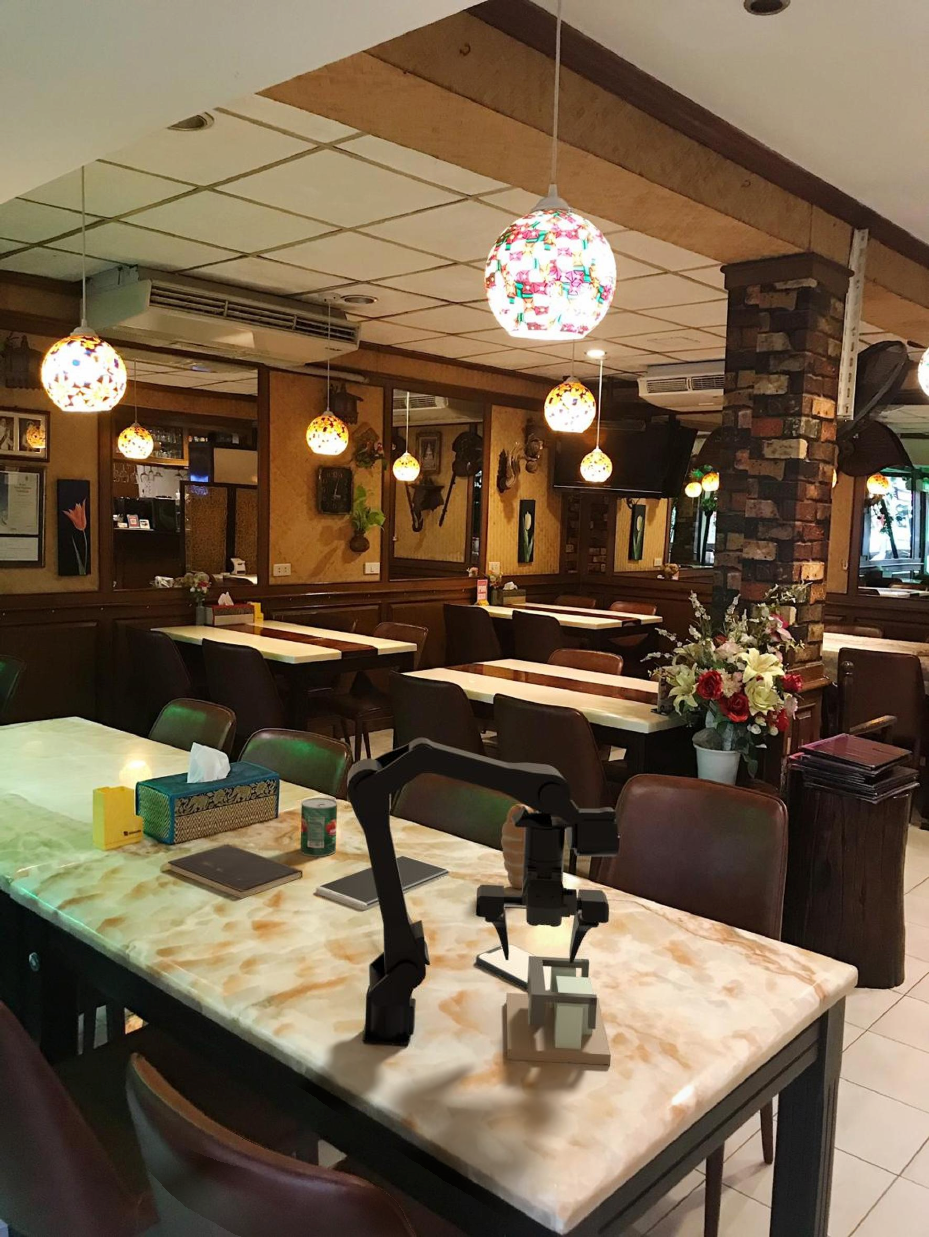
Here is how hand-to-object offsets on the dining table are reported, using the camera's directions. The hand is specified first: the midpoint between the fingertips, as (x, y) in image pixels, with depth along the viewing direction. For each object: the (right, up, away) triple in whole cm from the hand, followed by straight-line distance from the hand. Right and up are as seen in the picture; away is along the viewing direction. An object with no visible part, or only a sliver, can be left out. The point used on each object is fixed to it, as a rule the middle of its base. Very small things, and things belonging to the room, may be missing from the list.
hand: (538, 960), depth 137 cm
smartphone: (-27, -5, +57) cm, 63 cm away
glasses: (+3, -7, 0) cm, 7 cm away
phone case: (-1, -10, +19) cm, 22 cm away
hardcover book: (-58, -4, +58) cm, 82 cm away
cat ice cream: (0, -6, +57) cm, 57 cm away
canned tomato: (-43, -2, +74) cm, 86 cm away
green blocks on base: (+2, -11, +1) cm, 11 cm away
